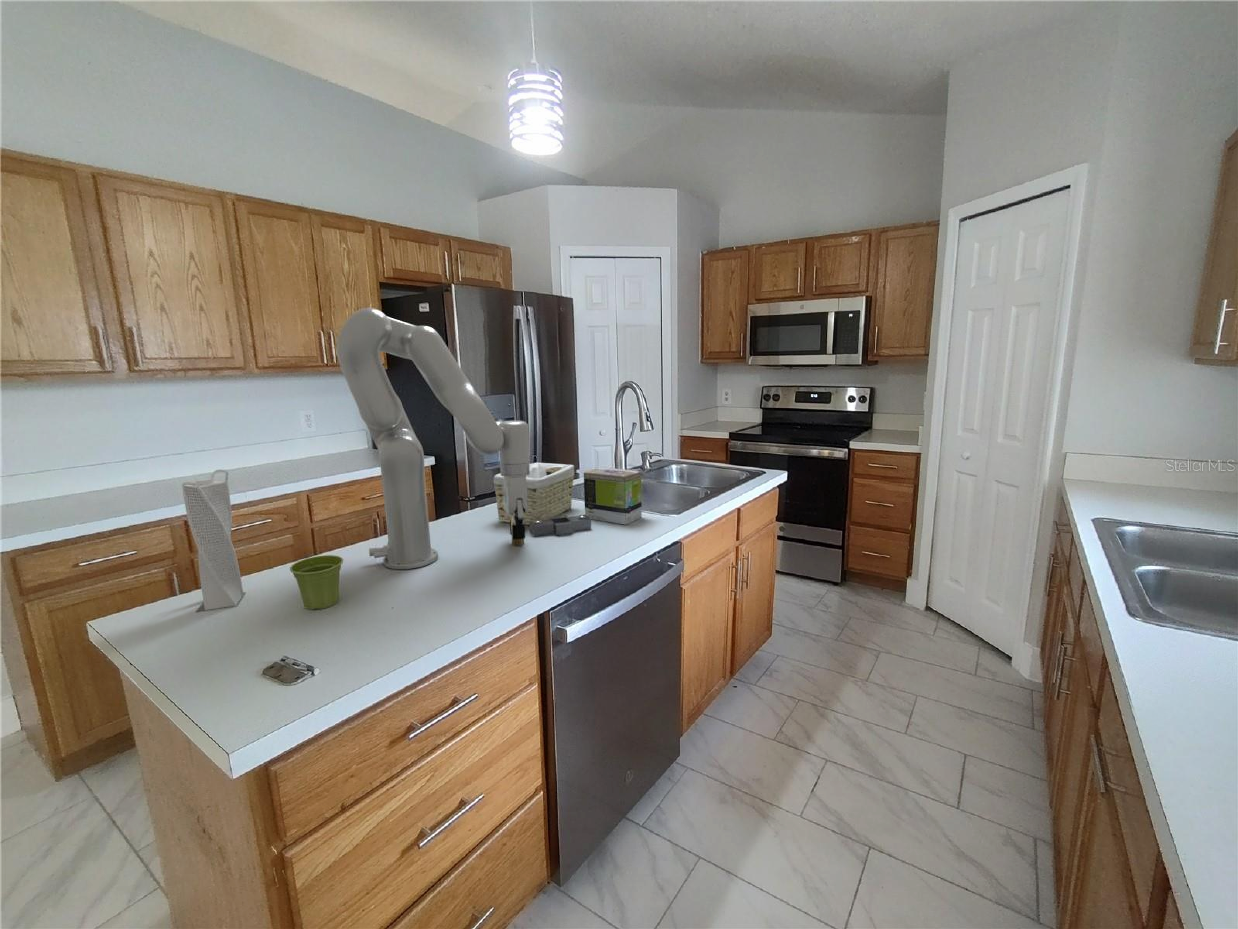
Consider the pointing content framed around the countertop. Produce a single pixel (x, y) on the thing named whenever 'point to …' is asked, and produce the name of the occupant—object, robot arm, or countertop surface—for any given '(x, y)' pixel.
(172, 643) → the countertop surface
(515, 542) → the brass pin
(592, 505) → the tea box
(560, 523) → the grey metal bracket
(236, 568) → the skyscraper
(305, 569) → the plant pot
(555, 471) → the storage basket
